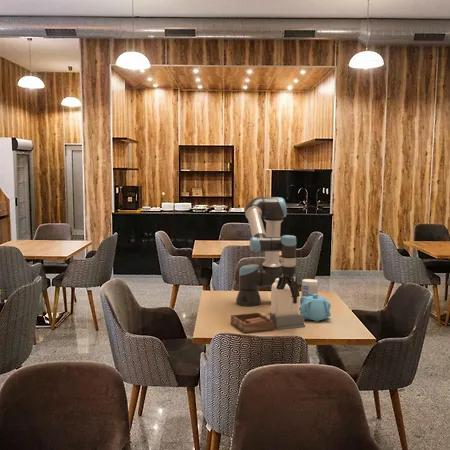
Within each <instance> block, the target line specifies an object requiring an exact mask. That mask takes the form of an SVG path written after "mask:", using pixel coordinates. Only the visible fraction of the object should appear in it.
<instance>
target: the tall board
mask: <svg viewBox="0 0 450 450" xmlns="http://www.w3.org/2000/svg"><path fill="white" fill-rule="evenodd" d="M291 296H292V294H291V291H290V289H280V290H276V303H275V317H279V316H289V315H299V314H300V310H299V308H300V296H298V297H297V309H296V310H291Z"/></svg>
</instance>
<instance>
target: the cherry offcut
mask: <svg viewBox="0 0 450 450" xmlns="http://www.w3.org/2000/svg"><path fill="white" fill-rule="evenodd" d="M259 322H266V320H265V319H262V318H260V317H258V318H253V319H247V320H245V323H246V324H249V323H259Z"/></svg>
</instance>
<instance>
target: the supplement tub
mask: <svg viewBox="0 0 450 450" xmlns="http://www.w3.org/2000/svg"><path fill="white" fill-rule="evenodd" d="M318 284H319V281H318V280H317V279H312V278H304V279H302V281H301V294H300V298H301V297H304V296H305V297H308V296H312V294H318V289H319V288H318V287H319V286H318ZM304 299H305V298H303V299H302V302H303V301H304Z"/></svg>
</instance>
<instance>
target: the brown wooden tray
mask: <svg viewBox="0 0 450 450" xmlns="http://www.w3.org/2000/svg"><path fill="white" fill-rule="evenodd" d="M258 317H260V318H262V319H265V320H266V322H259V323H249V324H246V323H244V322H245V320H247V319H253V318H258ZM230 324H231V325H232V326H233V327H234V328H236V329H237V330H239V331H241V332H242V333H244V334H254V333H260V332H261V333H262V332H271V331H272V332H273V331H275V328H274V321H272V320H271V319H270V317H267V316H265V315H263V314H262V313H260V312H252V313H241V314H231V315H230Z"/></svg>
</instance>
